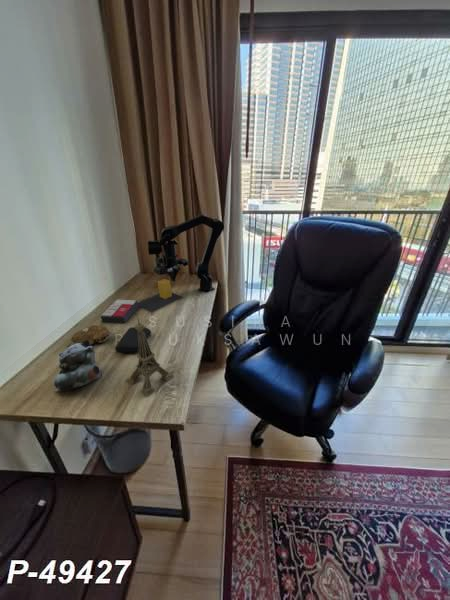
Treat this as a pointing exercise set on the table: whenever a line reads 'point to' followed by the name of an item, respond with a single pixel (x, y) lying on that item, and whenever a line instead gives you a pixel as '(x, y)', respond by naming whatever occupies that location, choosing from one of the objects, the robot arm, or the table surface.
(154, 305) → the mat
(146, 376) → the eiffel tower
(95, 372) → the grey lumpy figure
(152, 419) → the table surface
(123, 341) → the carrying case
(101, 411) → the table surface
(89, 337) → the decorative rock
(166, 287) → the block
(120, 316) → the red and white box
